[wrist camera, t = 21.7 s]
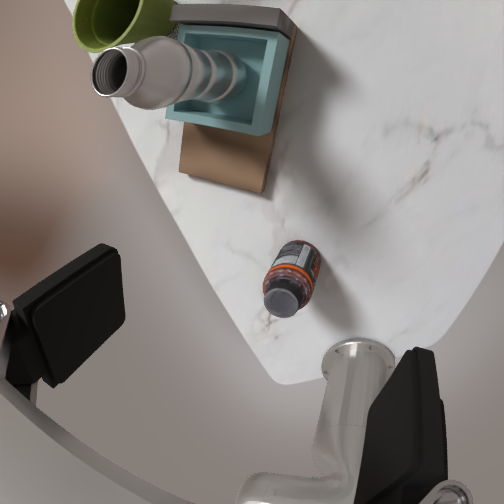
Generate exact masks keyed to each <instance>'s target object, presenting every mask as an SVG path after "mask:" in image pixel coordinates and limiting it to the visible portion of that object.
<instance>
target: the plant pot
mask: <svg viewBox="0 0 504 504" xmlns="http://www.w3.org/2000/svg"><path fill="white" fill-rule="evenodd" d="M173 5H176V3H175V2H174V1H173V0H78V1H77V3H76V6H75V9H74V13H73V20H72V28H73V34H74V37H75V40H76V41H77V43H78V45H79V46H80V47H81V48H83V49H84V50H86V51H88V52H92V53H99V52H103V51H104V50H106V49H108V48H112V47H114V46H118V45H121V44H128V43H137V42H139V41H140V40H143V39H146V38H149V37H153V36H167V35H168V34H169V33H170V32H171V31H172V30H173V29H174V27H175V25H176V23H177V22H173V21H170V16H171V11H172V6H173Z"/></svg>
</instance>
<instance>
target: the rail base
mask: <svg viewBox="0 0 504 504" xmlns="http://www.w3.org/2000/svg"><path fill="white" fill-rule="evenodd" d="M170 21H173V22H177V23H180V24H183V25H198V26H222V27H236V28H248V29H257V30H266V31H273V32H279V33H281V34H282V35H283V36H284V37H286V38H287V39H288V40H289V45H288V50H287V55H286V60H285V65H284V70H283V75H282V80H281V85H280V90H279V95H278V100H277V105H276V110H275V115H274V120H273V125H272V130H271V132H269V133H266V134H264V135H261V136H255V135H250V134H246V133H241V132H237V131H232V130H227V129H222V128H217V127H212V126H207V125H201V124H196V123H190V122H184V129H183V137H182V145H181V154H180V164H179V172H181V173H185V174H189V175H193V176H197V177H201V178H205V179H209V180H212V181H216V182H220V183H224V184H227V185H231V186H235V187H238V188H242V189H246V190H249V191H253V192H256V193H260V194H261V193H262V192H263V191H264V187H265V182H266V178H267V173H268V168H269V163H270V158H271V153H272V148H273V143H274V138H275V133H276V128H277V124H278V119H279V114H280V109H281V104H282V99H283V94H284V89H285V84H286V79H287V75H288V70H289V65H290V60H291V55H292V50H293V45H294V40H295V35H296V30H297V26H296V25H295V24H294V22H293V21H292V20H291V19H290V18H289V17H288V16H287V15H286V14H285V13H284V12H283V11H282V10H281V9H280V8H271V7H261V6H249V5H231V4H177V5H173V6H172V11H171V16H170Z"/></svg>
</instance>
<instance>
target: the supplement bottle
mask: <svg viewBox="0 0 504 504" xmlns="http://www.w3.org/2000/svg"><path fill="white" fill-rule="evenodd" d="M320 263H321V260H320V255H319V253H318V251H317V250H316V248H315V247H314V246H313V245H311V244H309V243H308V242H305V241H300V240H296V241H291V242H289V243H287V244H286V245H284V246H283V248H282V249H281V250H280V252H279V254H278V255H277V257H276V259H275V261H274V262H273V264H272V266H271V268H270V270H269V271H268V273H267V275H266V277H265V279H264V282H263V293H264V296H265V297H264V305H265V307H266V309H267V310H268V311H269V312H270V313H271V314H273V315H274V316H277V317H281V318H287V317H291V316H293V315H294V314H295V313H296V312H297V311H298V310H299V309H301V308H303V307H304V306H305V305H306V304H307V303H308V302H309V300H310V298H311V295H312V293H313V290H314V286H315V282H316V279H317V276H318V272H319V268H320Z"/></svg>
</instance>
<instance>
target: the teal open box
mask: <svg viewBox="0 0 504 504" xmlns="http://www.w3.org/2000/svg"><path fill="white" fill-rule="evenodd" d="M177 40H178V41H180V42H182V43H184V44H186V45H188V46H190V47H193V48H196V49H199V50H227V51H230V52H232V53H234V54H235V55H236V56H238V57H239V58H240V59H241V60H242V61H243V63H244V65H245V67H246V70H247V80H246V83H245V86H244V88H243V89H242V91H241V92H240V93H239V94H238V95H237V96H235V97H234V98H232V99H230V100H228V101H226V102H223V103H217V104H215V103H207V102H203V101H200V100H186V101H181V102H178V103H175V104H172V105H169V106H167V109H166V117H165V119H172V120H178V121H184V122H190V123H196V124H201V125H207V126H212V127H217V128H222V129H227V130H232V131H237V132H241V133H246V134H250V135H255V136H261V135H264V134H266V133H269V132H271V130H272V125H273V120H274V115H275V110H276V105H277V100H278V95H279V90H280V85H281V80H282V75H283V70H284V65H285V60H286V55H287V50H288V45H289V40H288V39H287V38H286V37H284V36H283V35H282V34H281V33H279V32H273V31H266V30H257V29H248V28H236V27H222V26H198V25H179V31H178V36H177Z"/></svg>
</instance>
